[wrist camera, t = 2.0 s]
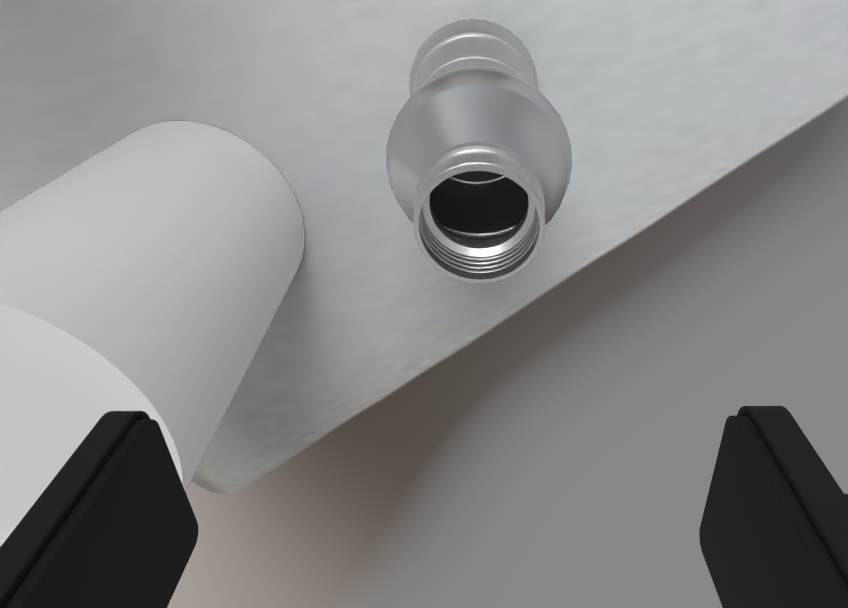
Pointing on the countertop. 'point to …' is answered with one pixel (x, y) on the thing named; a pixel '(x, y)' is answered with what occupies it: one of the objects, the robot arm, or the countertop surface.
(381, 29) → the countertop surface
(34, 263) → the canister
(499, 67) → the silver bottle
